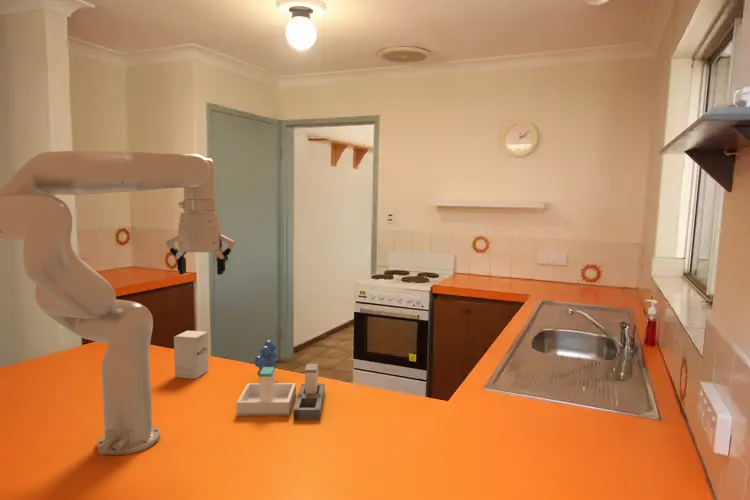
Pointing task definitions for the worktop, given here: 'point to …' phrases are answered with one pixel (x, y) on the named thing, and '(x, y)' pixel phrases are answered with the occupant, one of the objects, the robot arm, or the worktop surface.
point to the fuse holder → (309, 404)
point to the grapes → (266, 356)
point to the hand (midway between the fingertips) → (201, 273)
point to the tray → (254, 407)
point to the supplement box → (191, 354)
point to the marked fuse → (267, 384)
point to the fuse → (311, 379)
